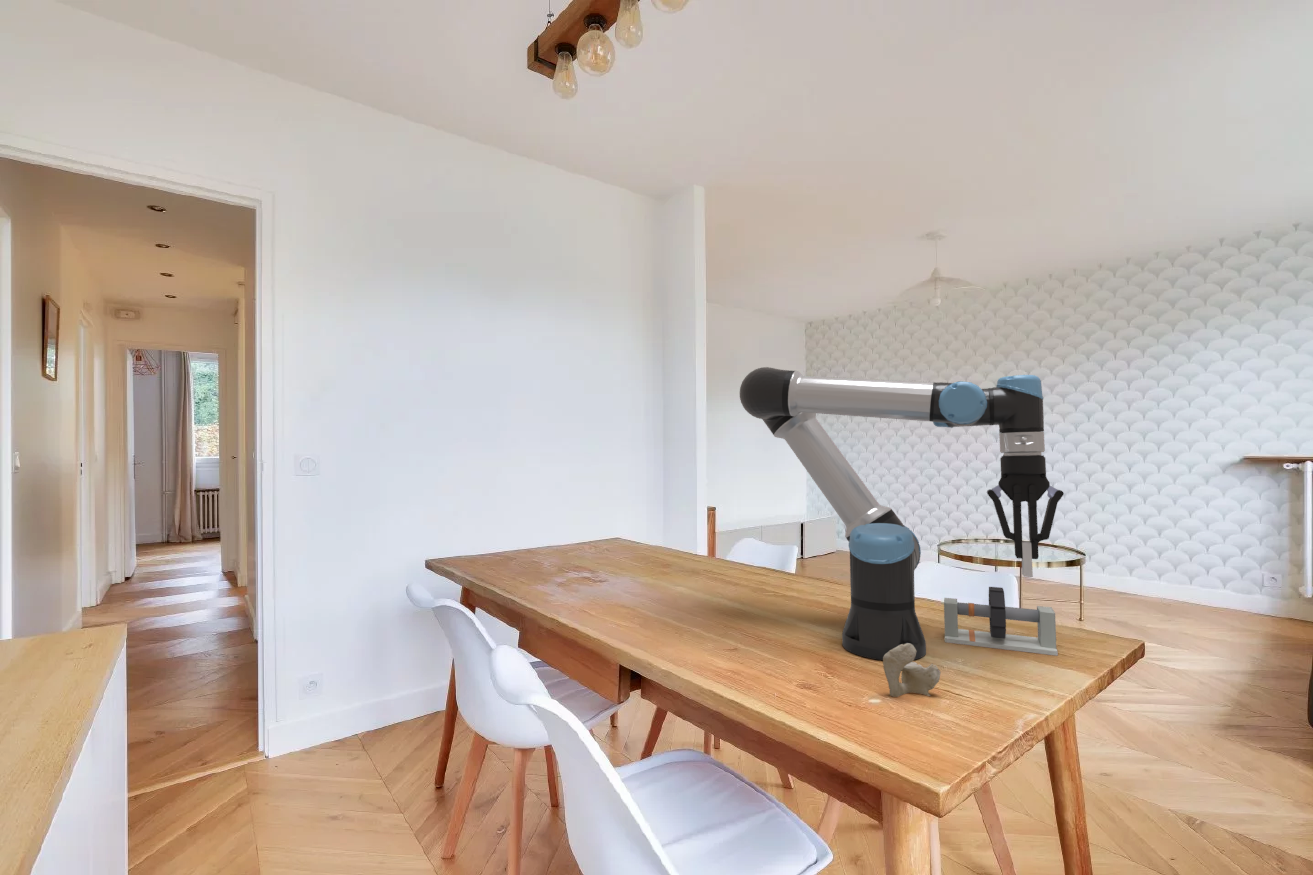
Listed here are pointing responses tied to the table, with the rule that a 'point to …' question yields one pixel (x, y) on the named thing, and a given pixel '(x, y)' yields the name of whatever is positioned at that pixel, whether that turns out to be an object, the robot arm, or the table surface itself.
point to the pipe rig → (1011, 642)
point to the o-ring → (997, 612)
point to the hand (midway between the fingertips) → (1027, 575)
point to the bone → (908, 672)
